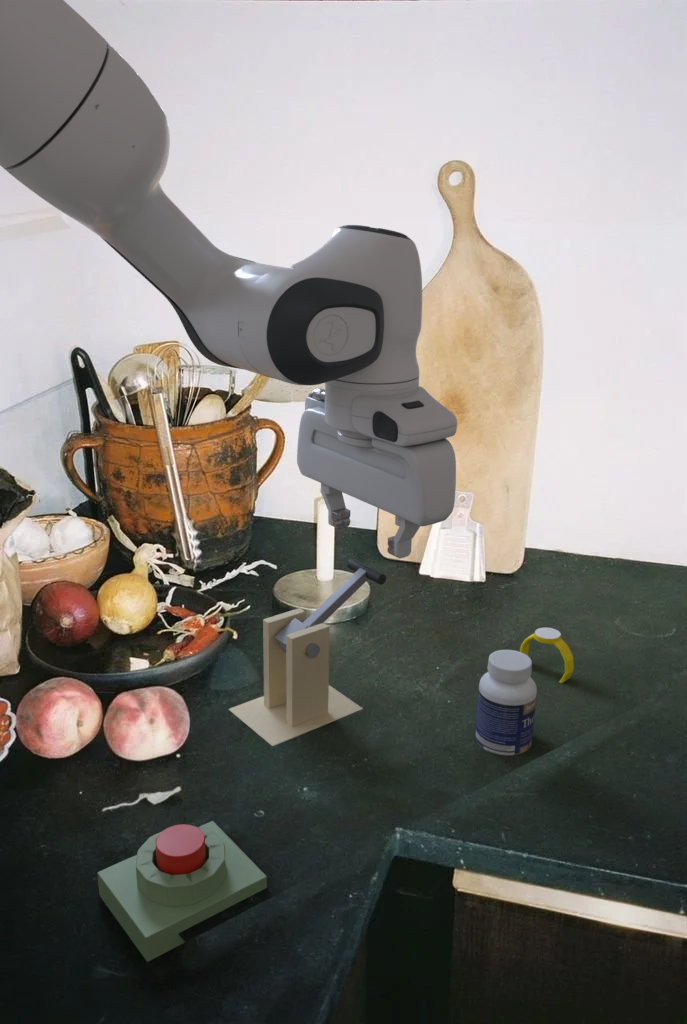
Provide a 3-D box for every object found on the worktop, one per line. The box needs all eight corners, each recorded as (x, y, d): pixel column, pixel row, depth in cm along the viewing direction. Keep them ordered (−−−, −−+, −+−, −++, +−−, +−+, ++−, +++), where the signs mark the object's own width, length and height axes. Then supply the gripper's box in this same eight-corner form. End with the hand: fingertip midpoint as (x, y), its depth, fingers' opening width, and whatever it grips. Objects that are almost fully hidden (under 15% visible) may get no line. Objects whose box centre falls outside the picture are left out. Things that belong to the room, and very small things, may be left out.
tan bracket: (316, 685, 100) (317, 594, 97) (363, 718, 95) (366, 622, 91) (228, 719, 94) (225, 622, 90) (272, 757, 88) (271, 655, 84)
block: (147, 962, 65) (144, 917, 64) (99, 895, 71) (95, 852, 70) (267, 899, 71) (267, 856, 70) (213, 842, 77) (212, 801, 76)
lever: (358, 567, 97) (350, 551, 96) (390, 584, 94) (381, 567, 92) (276, 646, 93) (266, 631, 92) (305, 667, 90) (295, 651, 88)
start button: (171, 883, 67) (169, 863, 67) (148, 855, 70) (146, 836, 69) (214, 862, 70) (213, 843, 69) (190, 836, 72) (189, 817, 72)
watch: (575, 687, 101) (580, 638, 99) (561, 696, 99) (567, 647, 97) (527, 667, 105) (532, 619, 103) (513, 676, 103) (518, 628, 101)
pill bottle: (529, 769, 87) (538, 677, 84) (471, 760, 88) (478, 669, 85) (532, 737, 92) (541, 649, 89) (477, 729, 93) (484, 642, 90)
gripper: (281, 388, 94) (282, 516, 99) (418, 433, 79) (411, 581, 84) (331, 380, 98) (330, 504, 103) (471, 422, 83) (462, 565, 88)
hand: (368, 540), depth 93 cm, fingers open, 8 cm apart
